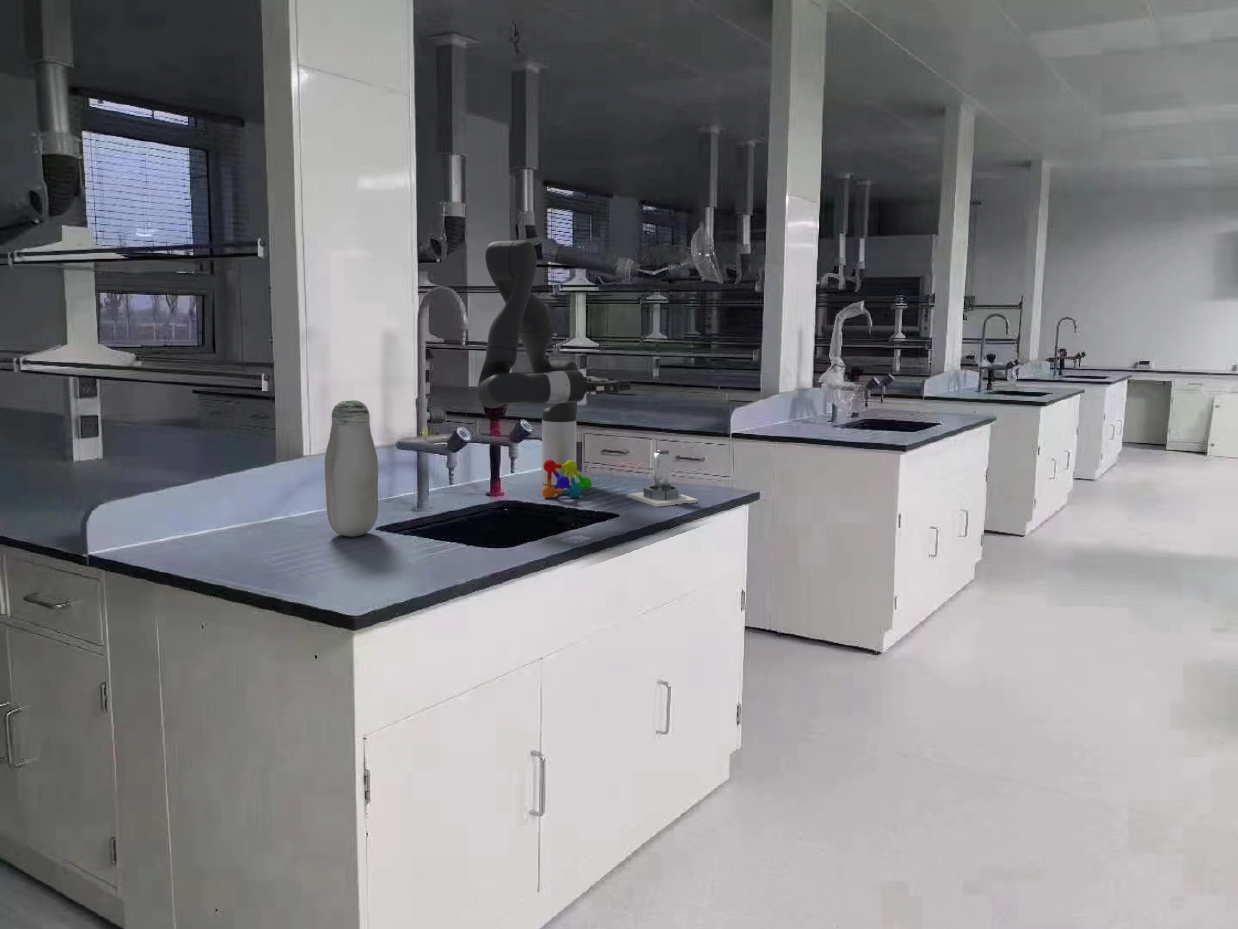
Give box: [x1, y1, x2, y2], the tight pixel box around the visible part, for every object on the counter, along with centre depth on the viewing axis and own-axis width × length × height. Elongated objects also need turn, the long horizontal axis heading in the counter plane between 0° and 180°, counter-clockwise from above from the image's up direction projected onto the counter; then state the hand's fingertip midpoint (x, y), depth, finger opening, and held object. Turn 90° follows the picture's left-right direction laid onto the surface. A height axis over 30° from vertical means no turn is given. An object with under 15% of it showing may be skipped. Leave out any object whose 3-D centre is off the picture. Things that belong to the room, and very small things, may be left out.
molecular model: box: [541, 460, 593, 499], centre depth 245 cm, size 11×10×15 cm
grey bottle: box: [324, 399, 379, 538], centre depth 199 cm, size 10×10×28 cm
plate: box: [626, 491, 699, 508], centre depth 243 cm, size 14×12×1 cm
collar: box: [643, 484, 682, 500], centre depth 243 cm, size 9×9×2 cm
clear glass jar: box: [652, 449, 673, 490], centre depth 242 cm, size 5×5×12 cm
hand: (621, 383), depth 236 cm, fingers open, 8 cm apart
